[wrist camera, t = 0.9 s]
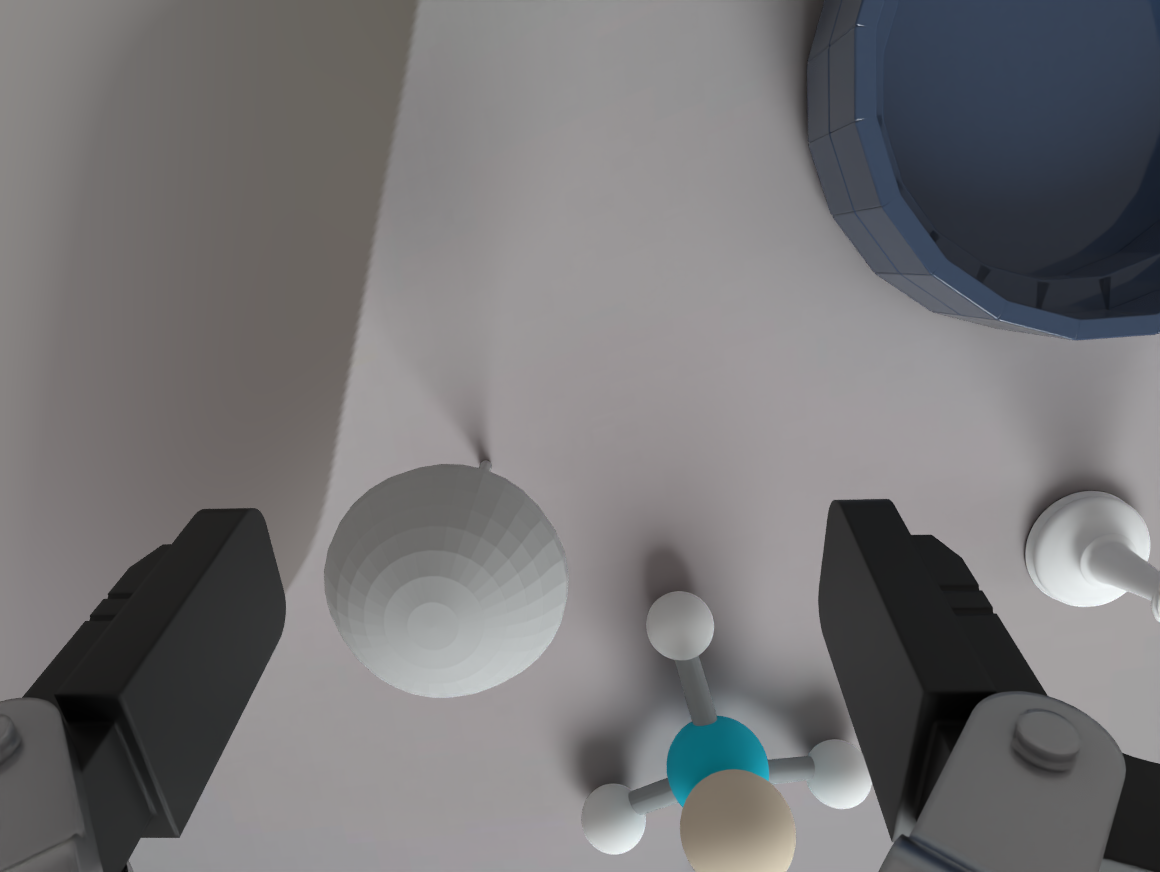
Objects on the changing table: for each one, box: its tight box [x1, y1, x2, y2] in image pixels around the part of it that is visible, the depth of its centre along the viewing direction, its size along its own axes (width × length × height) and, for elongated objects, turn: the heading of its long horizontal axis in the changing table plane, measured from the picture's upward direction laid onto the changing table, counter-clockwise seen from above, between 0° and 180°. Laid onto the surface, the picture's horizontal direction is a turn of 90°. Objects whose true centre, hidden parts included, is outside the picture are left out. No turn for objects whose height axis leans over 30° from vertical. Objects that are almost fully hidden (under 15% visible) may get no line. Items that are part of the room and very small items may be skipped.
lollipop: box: [324, 460, 568, 698], centre depth 26 cm, size 6×6×15 cm
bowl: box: [807, 0, 1160, 340], centre depth 28 cm, size 17×17×6 cm
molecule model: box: [581, 591, 872, 872], centre depth 31 cm, size 12×12×9 cm
